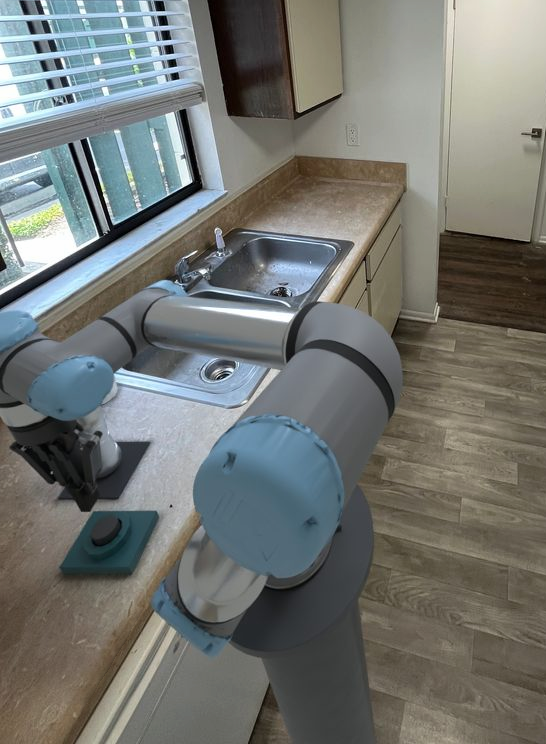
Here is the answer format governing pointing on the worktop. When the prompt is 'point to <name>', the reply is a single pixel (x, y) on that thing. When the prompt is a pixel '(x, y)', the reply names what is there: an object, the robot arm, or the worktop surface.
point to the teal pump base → (111, 545)
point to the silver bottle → (103, 441)
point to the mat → (118, 471)
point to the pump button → (105, 530)
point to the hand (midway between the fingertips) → (90, 503)
